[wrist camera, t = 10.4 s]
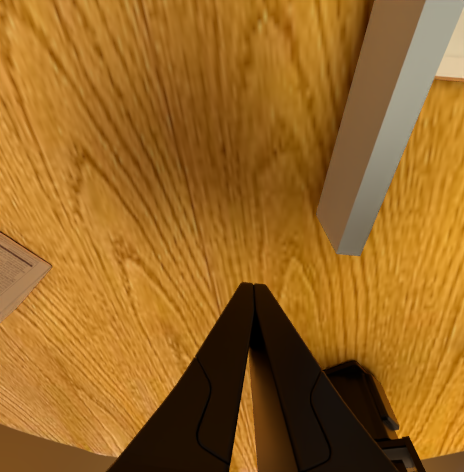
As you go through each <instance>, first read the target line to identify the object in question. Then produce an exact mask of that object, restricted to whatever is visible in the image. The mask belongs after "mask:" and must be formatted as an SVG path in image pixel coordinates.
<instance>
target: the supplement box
mask: <svg viewBox="0 0 464 472" xmlns="http://www.w3.org/2000/svg"><path fill="white" fill-rule="evenodd" d="M51 268H52V267H51V265H50V264H48V263H47V262H45V261H43V260H42V259H40V258H39V257H37V256H36V255H34V254H33V253H31V252H29V251H28V250H26V249H25V248H23V247H22V246H20V245H19V244H17V243H16V242H14V241H13V240H11V239H10V238H8V237H7V236H5V235H3V234H2V233H0V323H1V322H2V321H3V320H4V319H5V318H6V317H7V316H8V315H9V314H11V313H12V312H13V311H14V310H15V309H16V308H17V307H18V306H19V305H20V304H21V303H22V301H23V300H24V299H25V298H26V297H27V296H28V295H29V293H30V292H31V291H32V290H33V289H34V288H35V286H36V285H37V284H38V283H39V282H40V281H41V279H42V278H43V277H44V276H45V275H46V274H47V273H48V271H49V270H50V269H51Z"/></svg>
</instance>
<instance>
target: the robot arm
mask: <svg viewBox="0 0 464 472" xmlns="http://www.w3.org/2000/svg"><path fill="white" fill-rule="evenodd" d="M248 351H249V363H250V375H251V388H252V401H253V414H254V427H255V440H256V452H257V465H258V472H407V470H406V468H413V469H414V472H426V471H425V469H424V467H423V465H422V463H421V461H420V459H419V456H418V454H417V452H416V450H415V448H414V446H413V444H412V442H411V440H410V438H409V436H406V437H402V438H401V439H398V437H397V435H396V432H395V430H399V424H398V422H397V419H396V417H395V415H394V412H393V410H392V408H391V406H390V403H389V401H388V399H387V397H386V394H385V392H384V390H383V387H382V385H381V384H380V383H379V382H378V381H377V380H376V379H375V378H374V376H373V375H372V374H370V373H367V372H366V371H365V370H364V369H363V368H362V367H361V366H360V365H359V364H358V363H357V362H356V361H351V362H348V363H345V364H343V365H340V366H337V367H335V368H332V369H329V370H327V371H322V368H321V367H320V365H319V364H318V362H317V361H316V359H315V358H314V356H313V355H312V353H311V352H310V350H309V349H308V347H307V346H306V344H305V343H304V341H303V340H302V338H301V337H300V335H299V334H298V332H297V331H296V329H295V328H294V326H293V325H292V323H291V322H290V320H289V319H288V317H287V316H286V314H285V313H284V311H283V310H282V308H281V307H280V305H279V303H278V302H277V300H276V299H275V297H274V296H273V294H272V293H271V291H270V290H269V288H268V287H267V286H266V285H265V284H257V283H255V284H254V285H253V284H252V283H247V282H242V283H241V284H240V285H239V287H238V288H237V290H236V291H235V293H234V295H233V296H232V298H231V299H230V301H229V303H228V304H227V306H226V307H225V309H224V311H223V312H222V314H221V315H220V317H219V319H218V320H217V322H216V323H215V325H214V327H213V328H212V330H211V331H210V333H209V335H208V336H207V338H206V339H205V341H204V343H203V344H202V346H201V347H200V349H199V351H198V352H197V354H196V355H195V358H193V360H192V361H191V363H190V365H189V366H188V368H187V369H186V371H185V372H184V374H183V375H182V377H181V378H180V380H179V381H178V383H177V384H176V386H175V387H174V388H173V390H172V391H171V392H170V393H169V395H168V396H167V397H166V399H165V400H164V401H163V403H162V404H161V405H160V406H159V408H158V409H157V410H156V411H155V413H154V414H153V415H152V416H151V418H150V419H149V420H148V421H147V423H146V424H145V425H144V426H143V427H142V429H141V430H140V431H139V432H138V434H137V435H136V436H135V437H134V439H133V440H132V441H131V442H130V444H129V445H128V446H127V447H126V449H125V450H124V451H123V452H122V453H121V455H120V456H119V457H118V458H117V459H116V461H115V462H114V463H113V464H112V465H111V466H110V467H109V468H108V470H107V471H106V472H229V468H230V463H231V457H232V450H233V444H234V438H235V432H236V426H237V419H238V413H239V407H240V401H241V395H242V388H243V382H244V376H245V370H246V364H247V357H248Z"/></svg>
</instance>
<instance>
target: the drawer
mask: <svg viewBox="0 0 464 472" xmlns="http://www.w3.org/2000/svg"><path fill="white" fill-rule="evenodd" d="M434 79H438V80H450V81H462V82H464V0H375V1H374V4H373V8H372V12H371V15H370V19H369V23H368V26H367V30H366V34H365V37H364V41H363V44H362V48H361V52H360V55H359V59H358V63H357V66H356V70H355V74H354V77H353V81H352V84H351V88H350V92H349V95H348V99H347V103H346V106H345V110H344V114H343V117H342V121H341V124H340V128H339V132H338V135H337V139H336V143H335V146H334V150H333V154H332V157H331V161H330V164H329V168H328V172H327V175H326V179H325V183H324V186H323V190H322V194H321V197H320V201H319V204H318V208H317V212H316V215H317V217H318V219H319V221H320V223H321V225H322V227H323V229H324V231H325V233H326V235H327V237H328V239H329V241H330V243H331V245H332V246H333V248H334V250H335V252H336V254H343V255H354V256H360V255H361V253H362V250H363V248H364V245H365V243H366V241H367V238H368V236H369V233H370V231H371V229H372V226H373V224H374V221H375V219H376V217H377V214H378V212H379V209H380V207H381V205H382V202H383V200H384V197H385V195H386V193H387V190H388V188H389V185H390V183H391V181H392V178H393V176H394V173H395V171H396V169H397V166H398V164H399V161H400V159H401V157H402V154H403V152H404V149H405V147H406V145H407V142H408V140H409V137H410V135H411V133H412V130H413V128H414V125H415V123H416V121H417V118H418V116H419V113H420V111H421V109H422V106H423V104H424V101H425V99H426V96H427V94H428V92H429V89H430V87H431V84H432V82H433V80H434Z"/></svg>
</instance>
